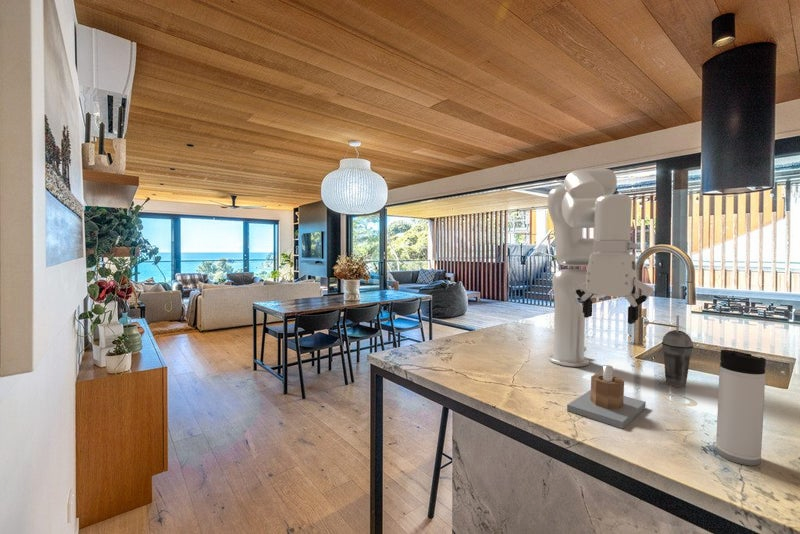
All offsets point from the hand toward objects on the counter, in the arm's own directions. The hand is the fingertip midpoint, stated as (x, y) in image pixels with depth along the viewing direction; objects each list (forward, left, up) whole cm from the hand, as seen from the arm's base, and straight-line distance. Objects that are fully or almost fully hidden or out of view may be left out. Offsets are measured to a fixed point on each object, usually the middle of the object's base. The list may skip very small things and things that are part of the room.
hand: (609, 319), depth 90 cm
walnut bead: (0, 0, -20) cm, 20 cm away
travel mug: (+4, +24, -22) cm, 33 cm away
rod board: (0, 0, -22) cm, 22 cm away
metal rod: (0, 0, -20) cm, 20 cm away
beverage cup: (-32, +7, -22) cm, 39 cm away
